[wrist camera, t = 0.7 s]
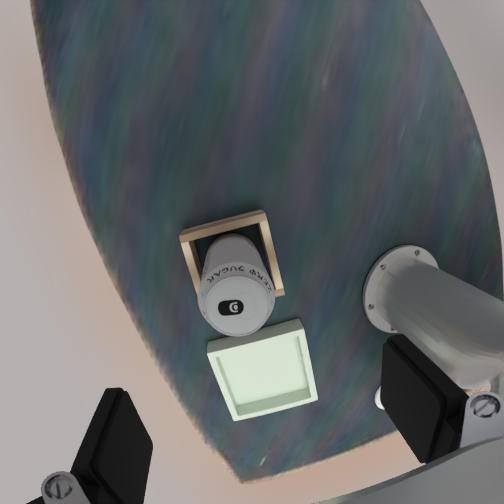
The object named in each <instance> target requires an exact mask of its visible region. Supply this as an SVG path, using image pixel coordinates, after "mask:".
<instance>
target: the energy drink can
mask: <svg viewBox="0 0 504 504" xmlns="http://www.w3.org/2000/svg"><path fill="white" fill-rule="evenodd" d="M274 303H275V291H274V287H273V284H272V282H271V279H270V277H269V275H268V273H267V270H266V268H265V266H264V264H263V261H262V259H261V257H260V255H259V253H258V250H257V248H256V246H255V245H254V243H253V242H252V241H251V240H250V239H249V238H247V237H246V236H243V235H241V234H237V233H229V234H224V235H222V236H220V237H218V238H217V239H215V240H214V241H213V242H212V243H211V245H210V246H209V248H208V251H207V255H206V259H205V263H204V268H203V272H202V277H201V281H200V286H199V291H198V304H199V308H200V311H201V313H202V315H203V316H204V318H205V319H206V320H207V321H208V322H209V323H210V324H211V325H212V327H214V328H215V329H216V330H217V331H219V332H221V333H223V334H225V335H228V336H245V335H249V334H251V333H253V332H255V331H257V330H258V329H259V328H260V327H262V326H263V324H264V323H265V322H266V320H267V318H268V317H269V316H270V314H271V312H272V310H273V307H274Z"/></svg>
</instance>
